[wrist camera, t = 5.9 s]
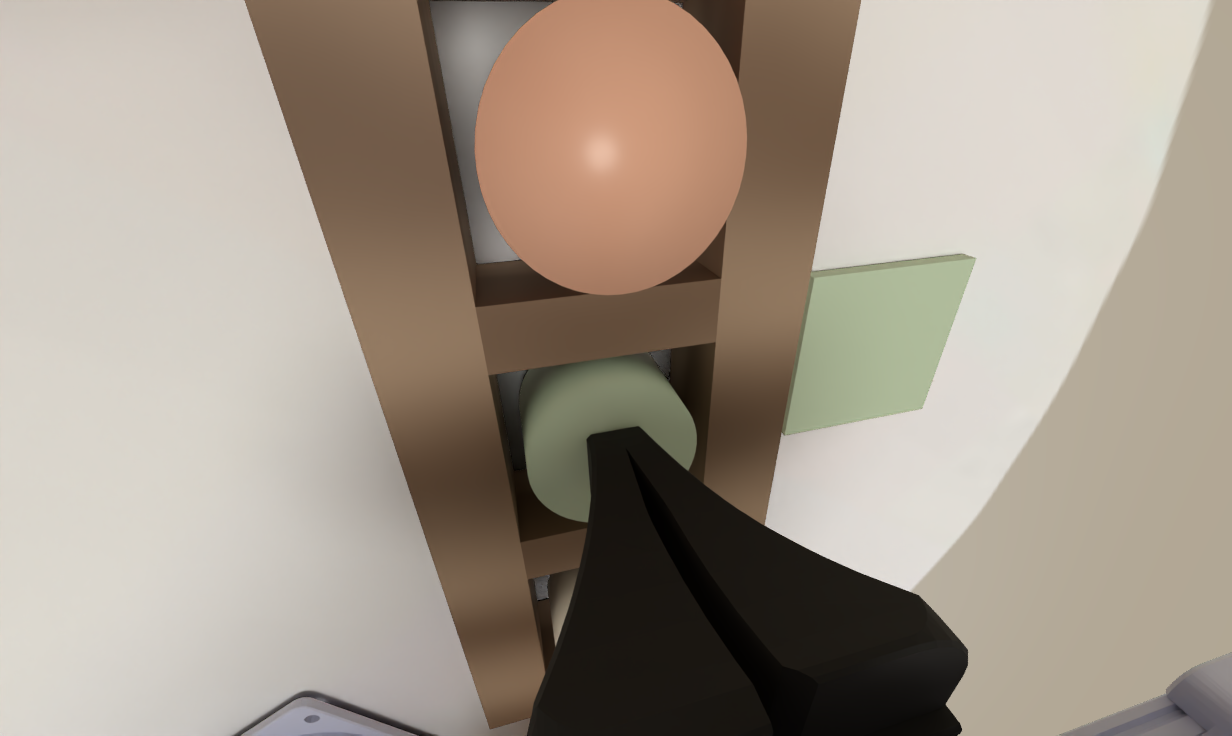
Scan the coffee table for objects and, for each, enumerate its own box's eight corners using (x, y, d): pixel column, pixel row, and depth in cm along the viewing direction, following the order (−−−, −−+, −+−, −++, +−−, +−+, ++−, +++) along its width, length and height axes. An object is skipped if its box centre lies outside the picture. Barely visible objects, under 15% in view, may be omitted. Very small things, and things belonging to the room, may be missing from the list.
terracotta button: (679, 243, 11) (733, 281, 9) (495, 261, 11) (499, 308, 8) (688, 19, 9) (762, -11, 7) (456, 19, 8) (446, -16, 6)
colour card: (912, 401, 19) (922, 408, 18) (777, 427, 18) (784, 435, 17) (963, 254, 16) (976, 257, 15) (804, 273, 15) (814, 278, 14)
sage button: (659, 442, 16) (692, 503, 13) (528, 466, 15) (537, 537, 12) (662, 322, 14) (701, 370, 11) (508, 343, 13) (515, 400, 10)
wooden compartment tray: (709, 591, 22) (740, 656, 19) (488, 648, 20) (489, 729, 17) (792, -136, 10) (901, -219, 7) (251, -176, 8) (139, -313, 5)
